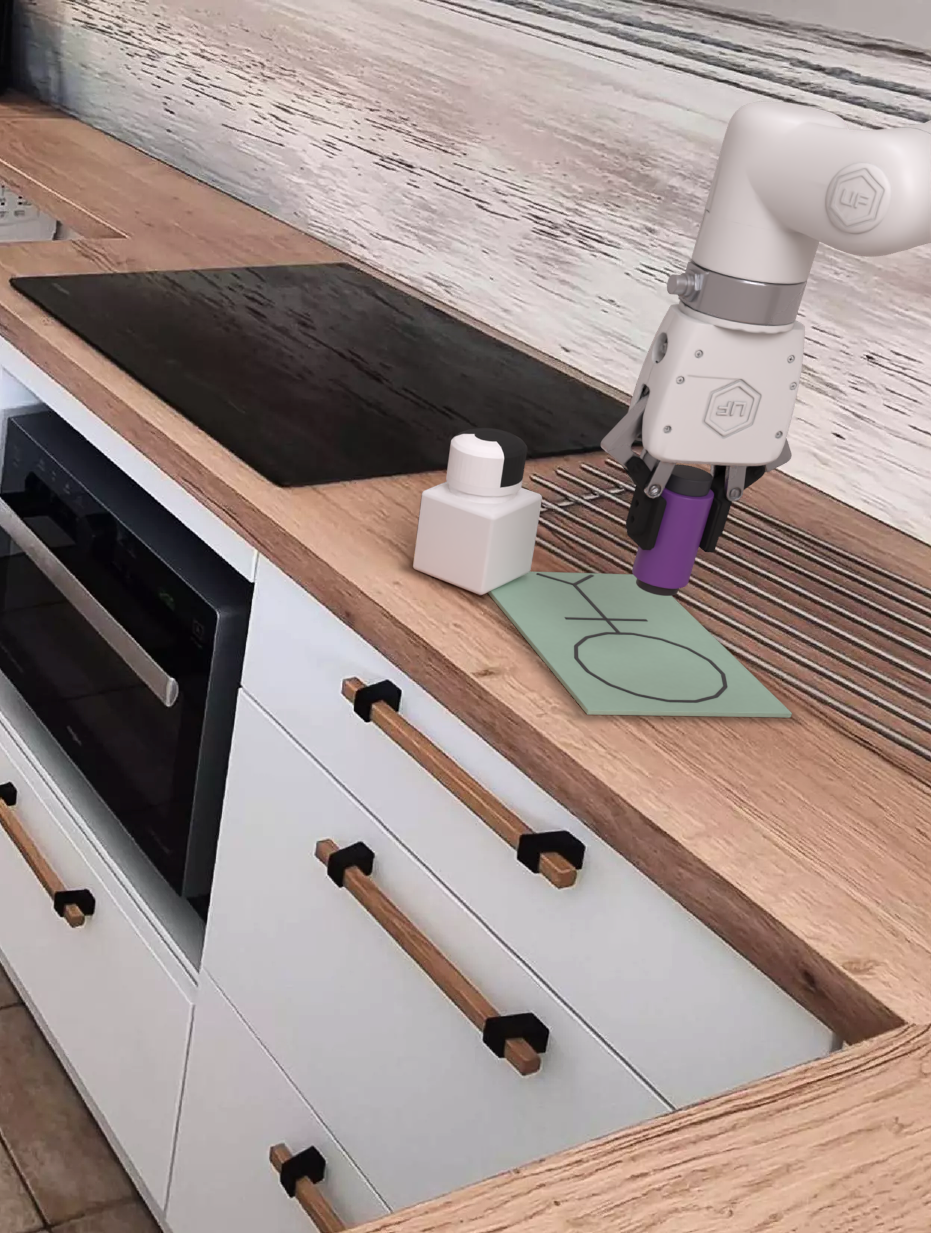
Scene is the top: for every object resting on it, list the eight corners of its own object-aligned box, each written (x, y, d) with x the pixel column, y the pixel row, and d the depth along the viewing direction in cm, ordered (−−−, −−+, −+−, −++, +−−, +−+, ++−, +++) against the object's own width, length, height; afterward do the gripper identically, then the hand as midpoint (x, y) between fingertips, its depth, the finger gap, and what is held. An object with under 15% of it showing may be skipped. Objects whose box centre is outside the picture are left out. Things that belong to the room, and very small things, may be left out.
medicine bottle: (461, 546, 152) (479, 414, 146) (531, 573, 147) (553, 438, 142) (410, 569, 148) (427, 434, 142) (481, 597, 143) (501, 459, 137)
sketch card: (790, 717, 130) (792, 712, 129) (587, 714, 127) (588, 709, 127) (649, 578, 150) (650, 574, 150) (471, 574, 148) (472, 569, 148)
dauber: (686, 584, 130) (720, 470, 126) (682, 604, 127) (717, 488, 122) (631, 570, 131) (663, 457, 127) (626, 590, 128) (658, 475, 124)
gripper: (649, 305, 114) (581, 562, 123) (884, 319, 117) (802, 569, 125) (602, 273, 120) (540, 518, 129) (825, 287, 123) (751, 526, 132)
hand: (670, 541), depth 127 cm, fingers closed on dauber, 4 cm apart
